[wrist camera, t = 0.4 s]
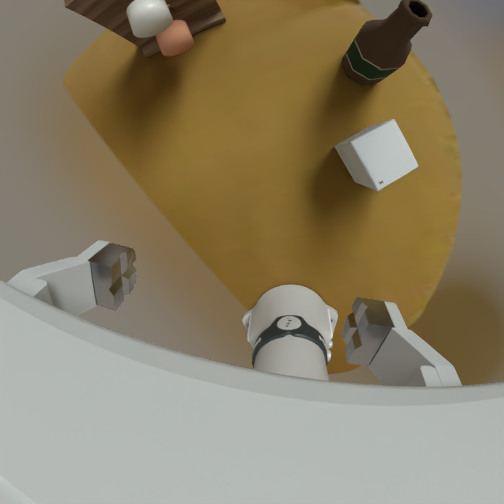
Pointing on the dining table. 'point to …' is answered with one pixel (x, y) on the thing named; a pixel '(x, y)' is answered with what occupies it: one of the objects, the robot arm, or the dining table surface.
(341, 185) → the dining table surface
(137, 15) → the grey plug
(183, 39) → the terracotta plug
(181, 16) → the plug panel
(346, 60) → the beer bottle
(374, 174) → the supplement box
